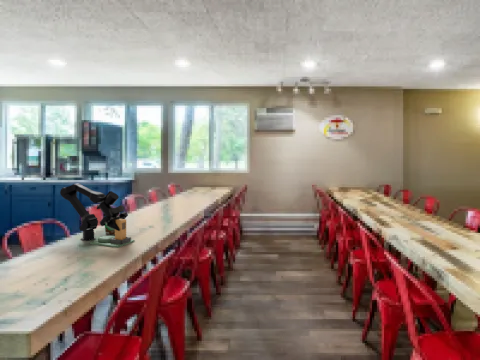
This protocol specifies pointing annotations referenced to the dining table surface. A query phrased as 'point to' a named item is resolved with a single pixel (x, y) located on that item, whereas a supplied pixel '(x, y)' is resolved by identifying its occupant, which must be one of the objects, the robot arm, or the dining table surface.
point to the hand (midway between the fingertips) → (122, 229)
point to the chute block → (122, 226)
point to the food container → (109, 230)
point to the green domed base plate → (112, 241)
